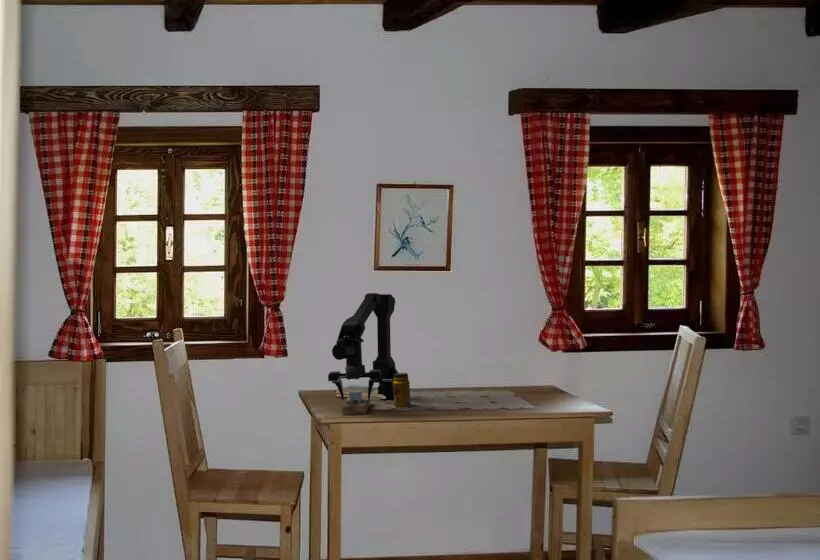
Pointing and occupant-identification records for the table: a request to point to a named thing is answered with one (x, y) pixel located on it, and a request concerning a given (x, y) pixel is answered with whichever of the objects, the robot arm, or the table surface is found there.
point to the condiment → (401, 391)
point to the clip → (355, 396)
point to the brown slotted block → (356, 406)
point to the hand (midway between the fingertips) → (356, 399)
